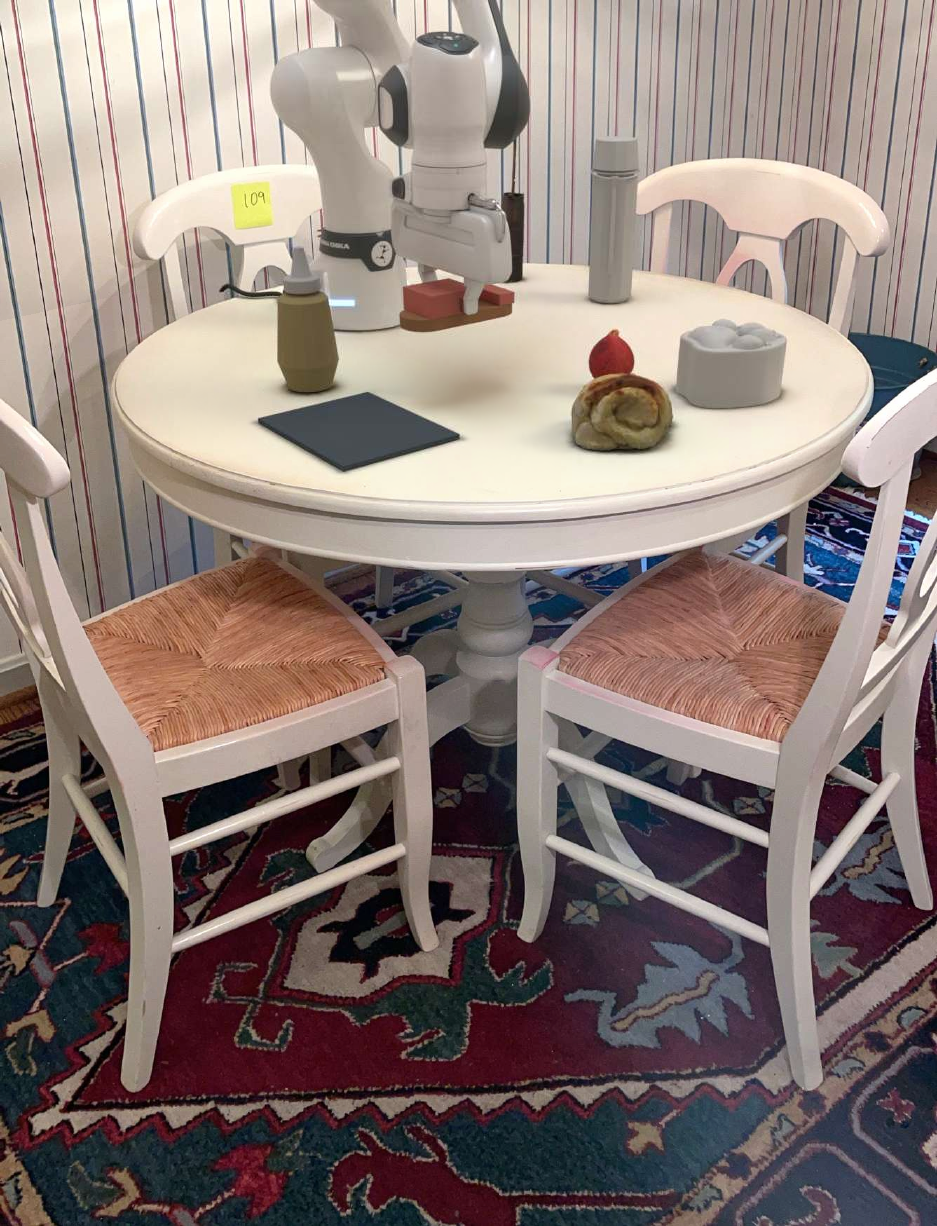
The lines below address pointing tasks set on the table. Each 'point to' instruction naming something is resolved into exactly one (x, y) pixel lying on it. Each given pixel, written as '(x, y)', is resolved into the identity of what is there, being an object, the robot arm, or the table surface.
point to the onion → (611, 356)
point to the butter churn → (515, 224)
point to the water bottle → (613, 218)
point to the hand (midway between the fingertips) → (450, 306)
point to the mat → (357, 430)
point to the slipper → (449, 305)
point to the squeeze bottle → (305, 330)
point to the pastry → (621, 413)
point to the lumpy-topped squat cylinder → (730, 365)
